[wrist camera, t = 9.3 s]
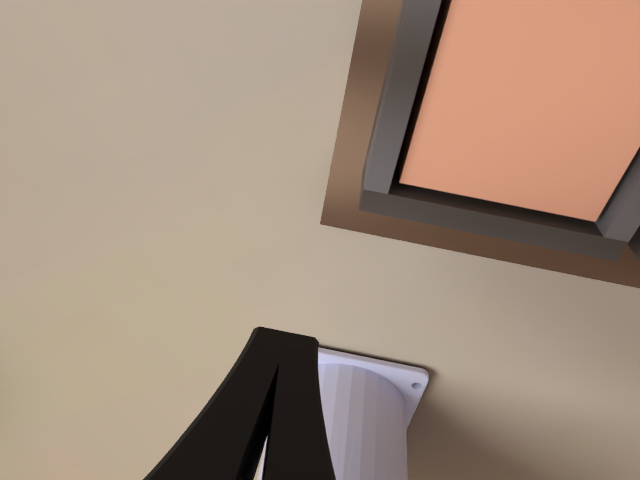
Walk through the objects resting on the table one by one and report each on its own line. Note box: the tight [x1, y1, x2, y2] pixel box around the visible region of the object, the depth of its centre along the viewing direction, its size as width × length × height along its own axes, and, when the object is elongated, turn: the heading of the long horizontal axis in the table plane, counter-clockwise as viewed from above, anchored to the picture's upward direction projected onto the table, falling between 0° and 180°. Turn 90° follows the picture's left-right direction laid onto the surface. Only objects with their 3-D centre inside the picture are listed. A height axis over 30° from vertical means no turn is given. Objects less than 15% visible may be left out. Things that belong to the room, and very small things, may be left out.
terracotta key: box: [399, 0, 640, 222], centre depth 15 cm, size 6×6×2 cm
